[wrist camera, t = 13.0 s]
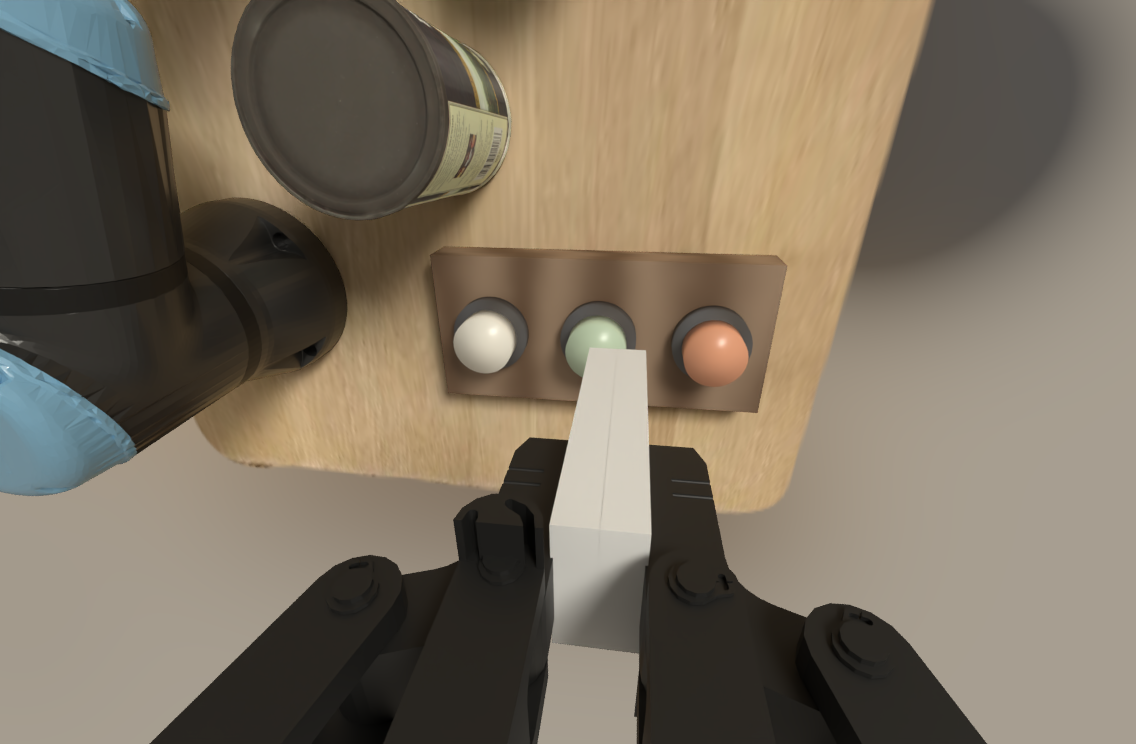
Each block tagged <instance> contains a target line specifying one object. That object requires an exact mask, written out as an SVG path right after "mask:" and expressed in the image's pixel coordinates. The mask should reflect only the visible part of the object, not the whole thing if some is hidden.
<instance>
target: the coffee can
mask: <svg viewBox="0 0 1136 744" xmlns="http://www.w3.org/2000/svg"><path fill="white" fill-rule="evenodd" d="M231 80H232V88H233V95H234V100H235V105H236V109H237V112H238V115H239V119H240V121H241V124H242V127H243V129H244V132H245V134H246V136H247V138H248V140H249V142H250V144H251V146H252V148H253V150H254V151H255V153H256V155H257V156H258V158H259V159H260V161H261V162H262V163H263V165H264V166H265V168H266V169H267V170H268V171H269V173H270V174H271V175H272V176H273V177H274V178H275V179H276V180H277V182H278V183H279V184H281V185H282V186H283V187H284V188H285V189H286V190H287V191H288V192H289V193H290V194H292V195H293V196H294V197H296V198H297V199H299V200H300V201H302V202H303V203H305V204H306V205H308V206H310V207H311V208H313V209H316V210H318V211H320V212H322V213H325V214H328V215H331V216H334V217H337V218H343V219H349V220H371V219H376V218H380V217H383V216H386V215H390V214H392V213H395V212H397V211H400V210H401V209H403V208H407V207H411V206H415V205H419V204H422V203H426V202H431V201H435V200H438V199H442V198H446V197H450V196H457V195H463V194H467V193H470V192H472V191H475V190H476V189H478V188H480V187H482V186H483V185H484V184H486V183H487V182H488V181H489V180H490V179H491V178H492V177H493V176H494V175H495V174H496V172H497V171H498V169H499V168H500V166H501V164H502V162H503V160H504V158H505V156H506V153H507V150H508V146H509V142H510V136H511V114H510V108H509V103H508V99H507V96H506V93H505V90H504V88H503V85H502V83H501V81H500V80H499V78H498V76H497V74H496V73H495V71H494V70H493V69H492V67H491V66H490V64H489V63H488V62H487V61H486V60H485V59H484V58H483V57H482V56H481V55H480V54H478V53H477V52H476V51H475V50H473V49H472V48H470V47H468V46H467V45H465V44H463V43H460V42H459V41H457V40H455V39H453V38H451V37H450V36H448V35H446V34H445V33H443V32H442V31H440V30H438V29H437V28H435V27H434V26H432V25H431V24H429V23H427V22H426V21H424V20H423V19H421V18H420V17H419V16H417V15H415V14H414V13H412V12H411V11H409V10H408V9H406V8H404V7H403V6H401V5H400V4H399V3H398V2H397V1H396V0H251V1H250V2H249V4H248V5H247V6H246V8H245V10H244V12H243V14H242V17H241V19H240V21H239V24H238V27H237V31H236V34H235V37H234V42H233V47H232V56H231Z"/></svg>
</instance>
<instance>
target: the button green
mask: <svg viewBox="0 0 1136 744" xmlns="http://www.w3.org/2000/svg"><path fill="white" fill-rule="evenodd" d="M590 347H591V348H611V349H626V347H627V340H626V335H625V333H624V331H623V329H622V327H621V326H620V325H619V324H618V323H617V322H615V321H614V320H612V319H610V318H608V317H605V316H599V315H596V316H589V317H586V318H584V319H582V320H580V321H579V322H578V323H577V324H576V325H575V326H574V327H573V329H572V330H571V333H570V336H569V339H568V342H567V344H566V350H565V354H566V359H567V362H568V364H569V366H570V367H571V369H572V370H573V371H574V372H575V373H576V374H578V375H579V376H581V377H583V375H584V371H585V366H586V362H587V357H588V353H589V349H590Z"/></svg>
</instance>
